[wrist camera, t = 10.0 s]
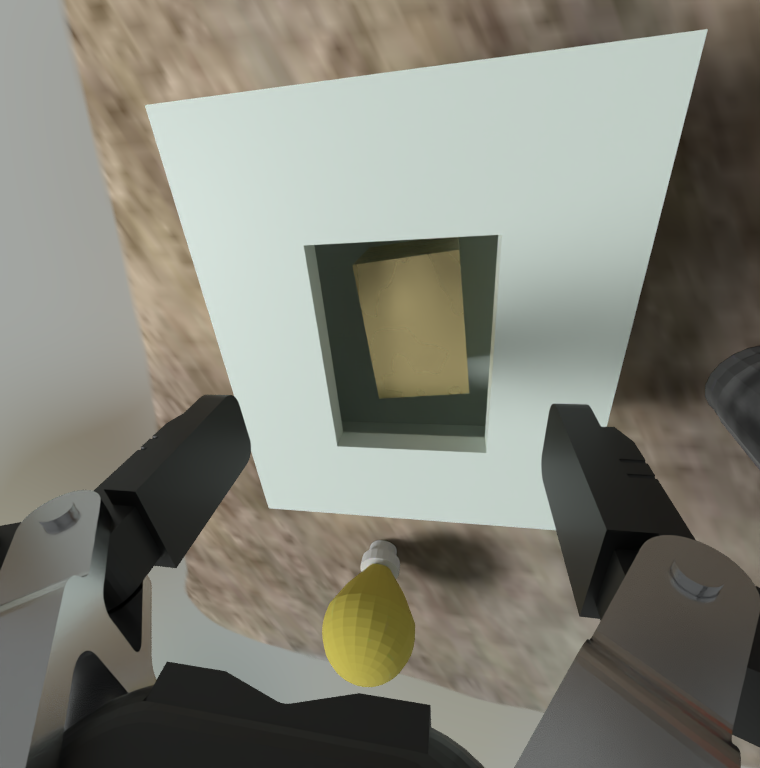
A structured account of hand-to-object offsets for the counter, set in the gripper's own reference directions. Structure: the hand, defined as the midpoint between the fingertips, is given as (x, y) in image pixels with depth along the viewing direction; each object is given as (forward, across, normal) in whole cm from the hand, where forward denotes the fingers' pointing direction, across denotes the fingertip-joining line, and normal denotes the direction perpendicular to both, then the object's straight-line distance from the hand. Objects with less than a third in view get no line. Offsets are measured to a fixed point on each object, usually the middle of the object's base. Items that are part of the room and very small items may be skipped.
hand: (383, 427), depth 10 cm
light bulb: (+14, +4, +23) cm, 27 cm away
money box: (+14, 0, 0) cm, 14 cm away
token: (+10, 0, 0) cm, 10 cm away
